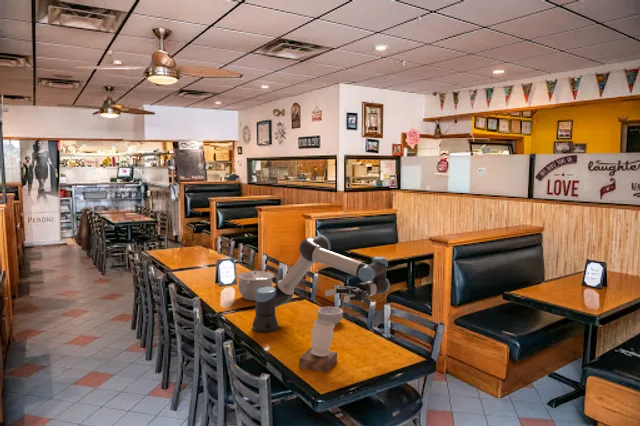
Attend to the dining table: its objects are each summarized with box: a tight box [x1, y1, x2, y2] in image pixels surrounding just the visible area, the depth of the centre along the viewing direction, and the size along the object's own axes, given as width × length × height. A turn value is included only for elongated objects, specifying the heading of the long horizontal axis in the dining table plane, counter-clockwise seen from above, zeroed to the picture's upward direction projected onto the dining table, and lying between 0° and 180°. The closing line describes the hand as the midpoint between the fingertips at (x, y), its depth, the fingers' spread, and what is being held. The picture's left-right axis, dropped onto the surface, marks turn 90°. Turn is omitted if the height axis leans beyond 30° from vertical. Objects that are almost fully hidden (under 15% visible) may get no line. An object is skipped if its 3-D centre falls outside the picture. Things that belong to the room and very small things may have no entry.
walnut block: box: [298, 347, 338, 373], centre depth 218 cm, size 14×14×5 cm
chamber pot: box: [235, 269, 275, 302], centre depth 325 cm, size 28×28×21 cm
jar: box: [310, 319, 336, 357], centre depth 218 cm, size 11×10×15 cm
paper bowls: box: [317, 306, 344, 326], centre depth 276 cm, size 15×15×8 cm
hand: (334, 296), depth 221 cm, fingers open, 13 cm apart
